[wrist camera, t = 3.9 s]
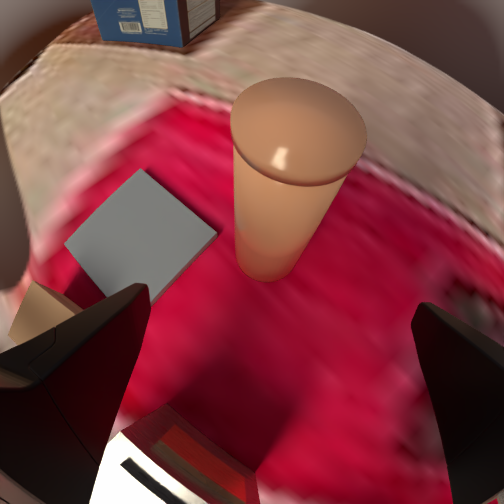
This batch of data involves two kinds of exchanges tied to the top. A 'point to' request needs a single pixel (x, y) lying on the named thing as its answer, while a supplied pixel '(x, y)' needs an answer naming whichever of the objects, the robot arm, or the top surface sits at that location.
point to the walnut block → (40, 312)
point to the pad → (139, 238)
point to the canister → (288, 168)
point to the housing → (170, 466)
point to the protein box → (154, 20)
